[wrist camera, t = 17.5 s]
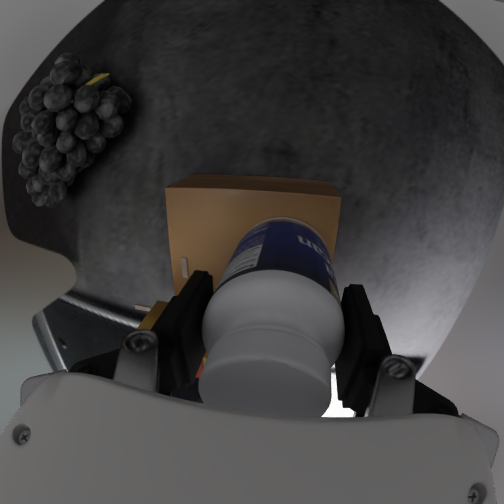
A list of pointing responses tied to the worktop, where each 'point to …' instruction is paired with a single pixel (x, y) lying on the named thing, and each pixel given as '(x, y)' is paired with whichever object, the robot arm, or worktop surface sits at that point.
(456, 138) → the worktop surface
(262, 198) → the brown flat block
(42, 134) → the fruit
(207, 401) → the pill bottle
